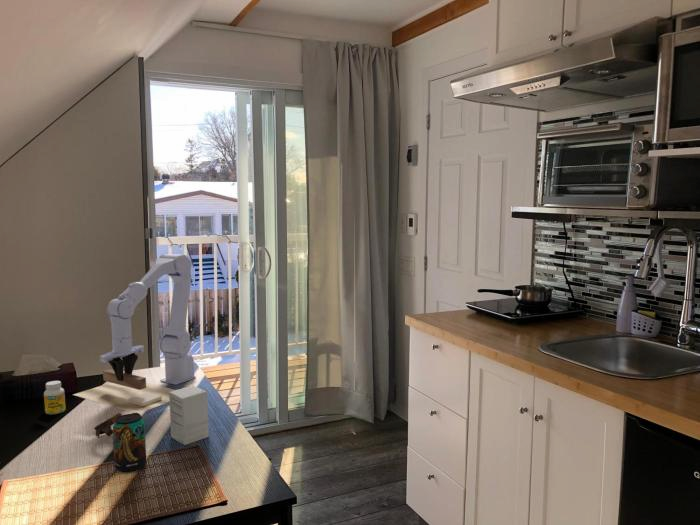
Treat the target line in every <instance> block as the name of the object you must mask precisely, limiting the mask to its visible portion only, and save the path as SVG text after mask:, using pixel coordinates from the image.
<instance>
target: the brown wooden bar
mask: <svg viewBox="0 0 700 525" xmlns="http://www.w3.org/2000/svg"><path fill="white" fill-rule="evenodd" d="M102 375H103V376H102V377H103V381H104V382H107V383H115V384H118V385H122V386H126V387H130V388H134V389H138V390H141V389H144V388H146V383H147V378H146V377H145V376H139V375H135V374H133V373H132V374H128V373H125V372H124V371H123V381H118V380H117V378H116V375H115V372H114V370H113V369H111V368H110V369H106V370H103V371H102Z"/></svg>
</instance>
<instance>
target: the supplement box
mask: <svg viewBox="0 0 700 525" xmlns="http://www.w3.org/2000/svg"><path fill="white" fill-rule="evenodd" d="M174 390H175V391H171V392H169V402H168V403H169V415H170V437H171V438H172V439H173V440H175V441H177V442H178V443H180V444H182V445H184V446H186V445H189V444H192V443H195V442H198V441H200V440H203V439H206V438H209V437H210V432H209V431H210V430H209V406H208V391H206V390H204V389H202V388H201V387H200V388H199V387H197V386H195V385H190V386H186V387H182V388H180V389H174Z"/></svg>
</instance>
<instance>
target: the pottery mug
mask: <svg viewBox="0 0 700 525" xmlns="http://www.w3.org/2000/svg"><path fill="white" fill-rule="evenodd" d="M131 414H139V415H141V413H132V412H131ZM121 415H122V412H118V413H116V414H114V415H112V416H111V417H110V418H108V419H105V421H103V422H101V423H99V424H97V425H95V426H94V428H93V429H94V431H95V437H97V438H100V435H106V436H107V437H111V436H113V429H112V427H111V426H113V425H114V424H115V419H116V418H117V417H119V416H121ZM141 419H142V420H143V415H141Z"/></svg>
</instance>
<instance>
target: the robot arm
mask: <svg viewBox="0 0 700 525" xmlns="http://www.w3.org/2000/svg"><path fill="white" fill-rule="evenodd" d="M192 263H193V262H192V261H191V259H190V258H189V256H188V255H186V254H175V253H174V254H173V253H171V254H170V253H163V254H161V255H160V256H159V257H157V258H156V259H155V263H154V265H153V266H152V267H151V268H150V269H149V270H148V271H147V272H146V274H145V275H144V276H143V277H142V278H141V279H140V280H139V281H134V282H130V283H129V284H128V287H127V288H126V289H125V290H124V291H123V292H122V293H120V294H119V295H118V297H117V298H114V299H111V300H110V301H109V302H108V304H107V308H105V312H106V314H107V315H108V317H109V321H110V326H111V342H112V351H110V352H107V353H104V354H102V355H99V360H100V363H104V364H105V363H109V365H110V366H111V368H112V370H114V372H115V375H116V378H117V380H118V381H123V372H124V373H128V374H132V375H133V370H134V368H135V364H136V362H137V360H138V359H139V357H138V355H137V354H138V353H145V345H141V344H139V345H135V346H133V338H132V335H133V334H132V318H131V317H132V316H134V313H135V311H136V310H135V309H136V308H137V306H138V305H139V303H140V302H141V301H143V300H144V299H145V297H146V296H147V295H148V289H150V288H151V287H152V285H154V284H155V283H156V282H158V281H159V280H160V279H161V278H162V277H163V276H164V275H168V276H169V278H171V280H172V281H173V282H174V285H173V291H172V297H171V298H172V299H171V307H170V314H169V321H168V327H167V328H165V329H164V330H163V332H162V336H161V338H160V340H159V343H158V347H159V350H160V352H161V353H162V355H163V356H164V371H165V372H164V374H165V378H163V379H162V378H161V379H160V380H159V382H163V383H166V384H170V385H175V386H176V385H179V384H183V383H184V382H187V381H191V380H194V379H196V377H197V376H196V375H195V361H194V357H193V355H192V354H191V353H190V350H191V348H192V347H191V346H192V343H191V334H190V333H189V332H188V330H187V329H186V323H187V316H188V315H187V314H188V308H189V301H190V292H191V286H192V272H191V271H192Z"/></svg>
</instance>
